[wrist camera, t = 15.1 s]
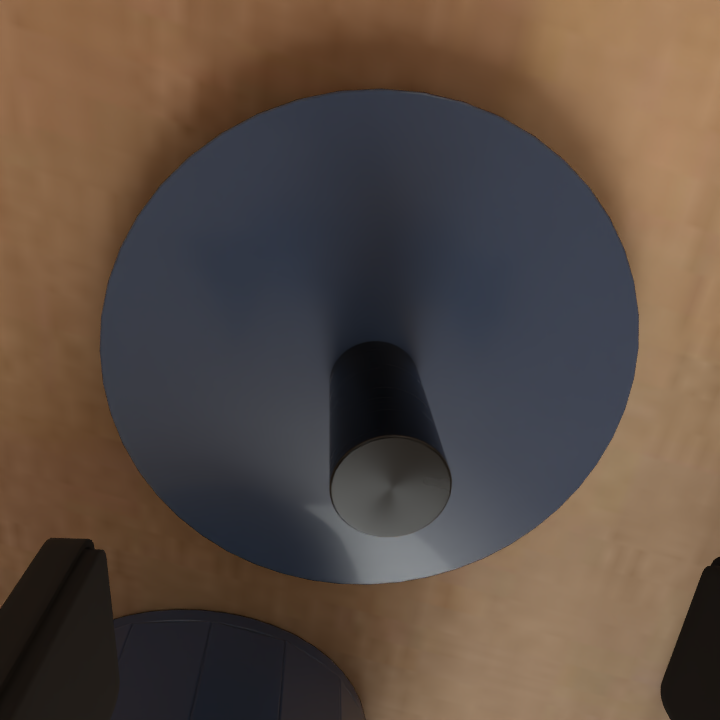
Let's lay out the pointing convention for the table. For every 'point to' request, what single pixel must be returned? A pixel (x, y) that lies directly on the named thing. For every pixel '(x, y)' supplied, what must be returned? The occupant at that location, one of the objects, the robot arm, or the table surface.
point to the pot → (224, 671)
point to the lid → (369, 336)
